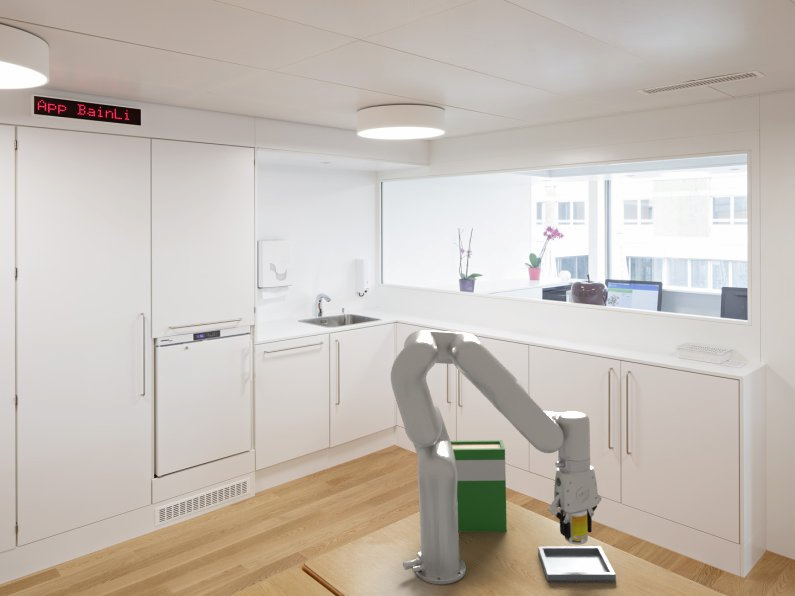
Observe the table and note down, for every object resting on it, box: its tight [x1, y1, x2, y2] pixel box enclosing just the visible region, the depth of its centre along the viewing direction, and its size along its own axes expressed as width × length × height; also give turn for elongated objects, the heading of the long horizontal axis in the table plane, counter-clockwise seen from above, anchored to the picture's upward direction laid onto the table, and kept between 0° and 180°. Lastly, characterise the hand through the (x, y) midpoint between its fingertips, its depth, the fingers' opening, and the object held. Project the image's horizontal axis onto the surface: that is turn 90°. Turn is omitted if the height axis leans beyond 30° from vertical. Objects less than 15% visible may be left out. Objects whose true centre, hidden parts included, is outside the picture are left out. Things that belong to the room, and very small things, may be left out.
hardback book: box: [450, 439, 508, 533], centre depth 170 cm, size 18×7×24 cm, turn 86°
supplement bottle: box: [563, 509, 589, 546], centre depth 147 cm, size 6×6×10 cm
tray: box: [537, 545, 617, 583], centre depth 148 cm, size 16×13×2 cm
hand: (576, 532), depth 147 cm, fingers closed on supplement bottle, 5 cm apart
